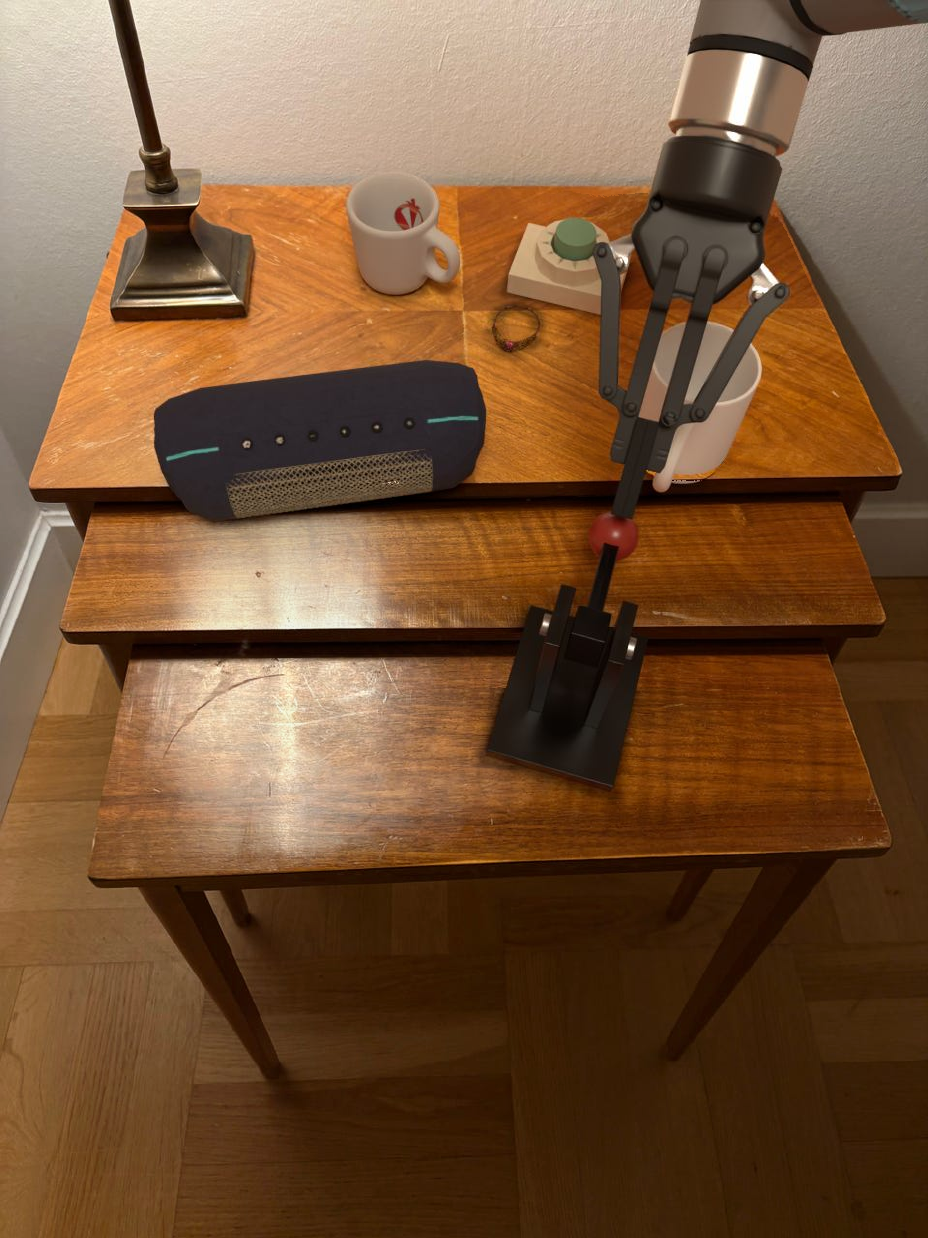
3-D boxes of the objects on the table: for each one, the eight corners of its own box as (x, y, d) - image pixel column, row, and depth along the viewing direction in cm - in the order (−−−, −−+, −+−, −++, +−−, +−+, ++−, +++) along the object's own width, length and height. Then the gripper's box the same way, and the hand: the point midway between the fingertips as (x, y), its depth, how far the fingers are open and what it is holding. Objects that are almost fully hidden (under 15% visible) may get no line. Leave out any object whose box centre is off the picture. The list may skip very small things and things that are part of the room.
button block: (629, 265, 92) (637, 230, 88) (612, 318, 88) (620, 284, 85) (526, 241, 93) (530, 205, 89) (506, 292, 89) (509, 257, 86)
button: (597, 238, 88) (600, 222, 86) (588, 265, 86) (591, 250, 85) (559, 229, 88) (561, 213, 87) (549, 256, 87) (551, 240, 85)
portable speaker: (177, 552, 76) (144, 476, 67) (170, 450, 80) (138, 365, 71) (495, 508, 78) (503, 428, 70) (471, 411, 83) (476, 325, 74)
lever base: (529, 612, 74) (545, 526, 64) (645, 644, 73) (681, 562, 63) (485, 756, 69) (495, 688, 58) (610, 792, 68) (643, 730, 57)
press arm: (588, 534, 73) (598, 495, 70) (635, 547, 72) (647, 508, 70) (550, 663, 62) (561, 622, 60) (605, 678, 62) (618, 638, 60)
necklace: (484, 352, 86) (484, 343, 85) (500, 301, 89) (500, 293, 88) (530, 361, 85) (531, 353, 85) (544, 311, 88) (546, 302, 87)
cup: (480, 280, 90) (485, 208, 83) (431, 333, 87) (431, 262, 80) (386, 232, 93) (382, 157, 86) (334, 281, 89) (326, 208, 82)
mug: (696, 537, 78) (731, 457, 69) (598, 501, 79) (620, 419, 70) (736, 427, 83) (774, 340, 74) (644, 396, 84) (670, 306, 75)
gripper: (819, 179, 63) (711, 528, 70) (623, 137, 65) (536, 483, 72) (841, 158, 56) (718, 548, 63) (620, 111, 58) (524, 498, 65)
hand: (622, 513), depth 68 cm, fingers closed
